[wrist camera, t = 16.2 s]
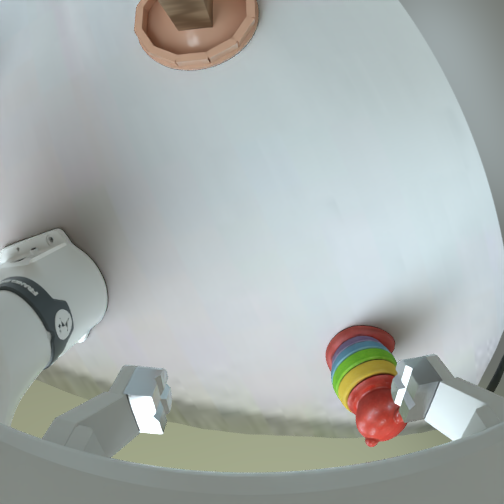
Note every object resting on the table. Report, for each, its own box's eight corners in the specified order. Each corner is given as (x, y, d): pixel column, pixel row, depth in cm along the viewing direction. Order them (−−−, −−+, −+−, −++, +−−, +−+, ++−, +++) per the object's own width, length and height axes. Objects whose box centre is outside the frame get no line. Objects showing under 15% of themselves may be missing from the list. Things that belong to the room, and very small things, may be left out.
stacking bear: (352, 385, 48) (381, 467, 31) (308, 360, 46) (328, 449, 29) (398, 340, 45) (447, 414, 28) (356, 309, 44) (402, 388, 27)
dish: (136, 78, 35) (128, 73, 32) (142, -17, 30) (136, -26, 27) (260, 66, 34) (260, 60, 32) (256, -30, 30) (257, -40, 27)
